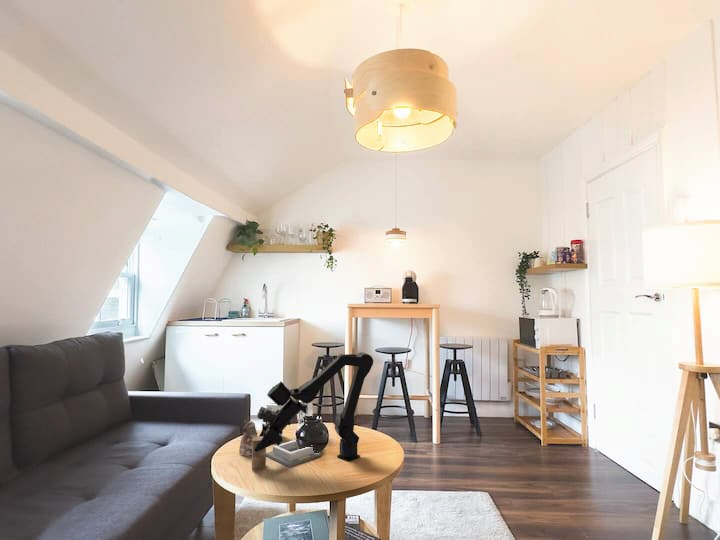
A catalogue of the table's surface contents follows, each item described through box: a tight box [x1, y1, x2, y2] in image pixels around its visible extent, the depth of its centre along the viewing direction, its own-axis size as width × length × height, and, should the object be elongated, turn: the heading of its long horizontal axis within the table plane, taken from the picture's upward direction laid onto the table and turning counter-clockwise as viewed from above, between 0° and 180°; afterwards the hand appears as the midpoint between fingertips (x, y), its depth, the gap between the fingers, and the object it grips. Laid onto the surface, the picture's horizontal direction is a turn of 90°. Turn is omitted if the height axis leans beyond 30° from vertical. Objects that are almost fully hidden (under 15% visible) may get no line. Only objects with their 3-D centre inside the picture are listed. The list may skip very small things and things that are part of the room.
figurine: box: [238, 420, 258, 457], centre depth 158 cm, size 7×7×12 cm
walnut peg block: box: [251, 435, 267, 471], centre depth 144 cm, size 4×4×10 cm
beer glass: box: [296, 400, 314, 426], centre depth 179 cm, size 7×7×15 cm
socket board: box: [266, 439, 322, 468], centre depth 154 cm, size 15×15×4 cm
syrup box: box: [265, 401, 284, 436], centre depth 176 cm, size 6×6×14 cm
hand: (254, 448), depth 144 cm, fingers closed on walnut peg block, 4 cm apart
